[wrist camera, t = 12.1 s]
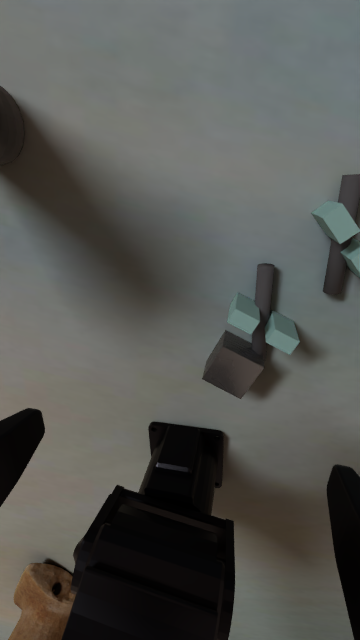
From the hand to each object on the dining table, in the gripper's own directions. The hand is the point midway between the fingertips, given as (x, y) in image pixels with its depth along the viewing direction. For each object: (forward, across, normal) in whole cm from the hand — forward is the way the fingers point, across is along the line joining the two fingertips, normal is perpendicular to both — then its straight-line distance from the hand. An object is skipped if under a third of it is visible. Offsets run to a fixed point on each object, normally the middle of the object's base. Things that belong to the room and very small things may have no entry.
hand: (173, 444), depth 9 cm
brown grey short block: (+13, -2, +4) cm, 14 cm away
